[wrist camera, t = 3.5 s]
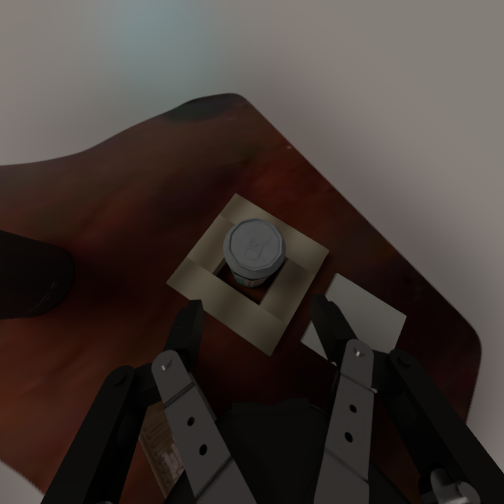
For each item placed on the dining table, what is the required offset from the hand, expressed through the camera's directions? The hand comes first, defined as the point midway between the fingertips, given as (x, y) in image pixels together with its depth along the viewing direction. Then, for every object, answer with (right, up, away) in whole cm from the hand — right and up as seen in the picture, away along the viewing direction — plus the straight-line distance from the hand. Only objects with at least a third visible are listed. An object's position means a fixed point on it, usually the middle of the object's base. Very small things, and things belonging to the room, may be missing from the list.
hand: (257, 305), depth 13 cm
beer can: (-1, +1, +11) cm, 12 cm away
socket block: (-1, +1, +11) cm, 11 cm away
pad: (+13, -6, +10) cm, 17 cm away
